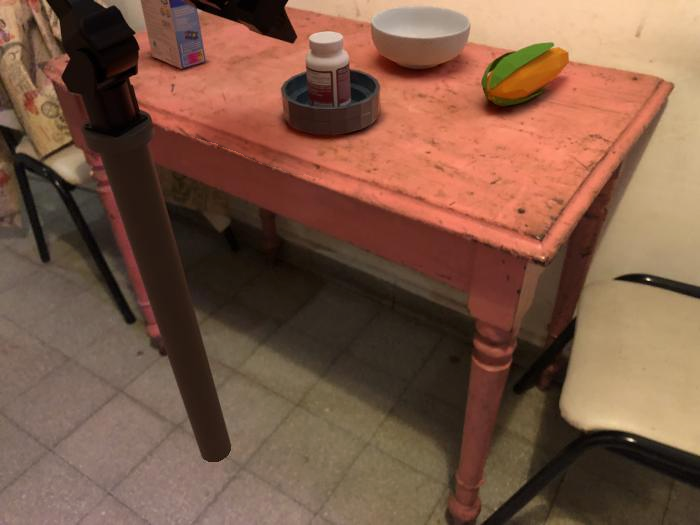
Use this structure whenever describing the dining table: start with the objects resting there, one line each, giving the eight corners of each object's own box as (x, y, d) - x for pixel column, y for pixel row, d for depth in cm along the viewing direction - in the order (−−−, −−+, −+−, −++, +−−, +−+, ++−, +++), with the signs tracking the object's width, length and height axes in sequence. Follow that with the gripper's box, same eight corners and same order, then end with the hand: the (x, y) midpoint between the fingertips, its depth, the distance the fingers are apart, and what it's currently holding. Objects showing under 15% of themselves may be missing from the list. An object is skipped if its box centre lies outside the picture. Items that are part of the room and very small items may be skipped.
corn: (471, 55, 84) (551, 21, 94) (463, 104, 89) (539, 67, 99) (514, 73, 80) (592, 35, 90) (503, 123, 85) (578, 82, 95)
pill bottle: (342, 99, 91) (339, 26, 84) (357, 116, 86) (356, 40, 79) (303, 107, 89) (297, 33, 82) (317, 124, 84) (312, 47, 77)
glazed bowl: (353, 146, 81) (352, 116, 78) (265, 127, 86) (262, 97, 83) (394, 104, 90) (395, 76, 87) (313, 89, 95) (311, 62, 92)
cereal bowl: (449, 86, 95) (453, 42, 90) (355, 72, 100) (354, 29, 96) (478, 50, 106) (482, 9, 102) (392, 39, 112) (393, -1, 108)
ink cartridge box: (208, 61, 106) (193, -26, 97) (183, 70, 103) (164, -19, 94) (177, 49, 111) (159, -35, 102) (151, 57, 108) (130, -29, 99)
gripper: (272, -108, 59) (353, -8, 72) (180, -123, 70) (264, -34, 83) (214, -11, 60) (305, 71, 72) (132, -41, 71) (223, 35, 83)
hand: (273, 31), depth 78 cm, fingers open, 9 cm apart
